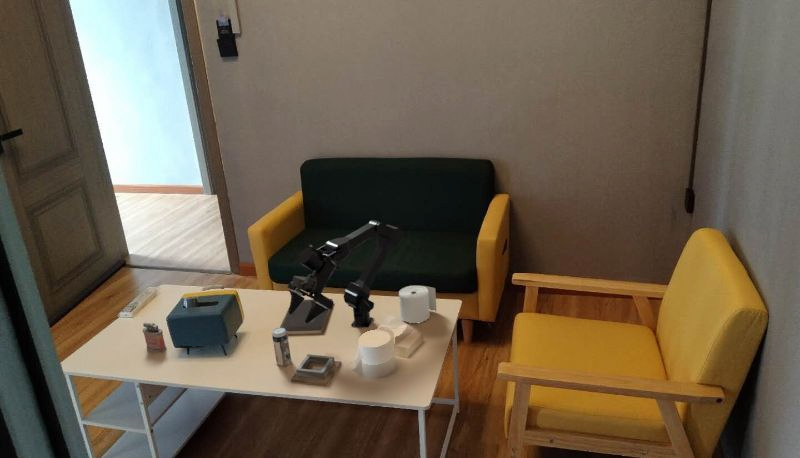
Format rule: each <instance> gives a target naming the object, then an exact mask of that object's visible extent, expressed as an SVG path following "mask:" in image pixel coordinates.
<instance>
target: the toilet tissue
mask: <svg viewBox="0 0 800 458" xmlns="http://www.w3.org/2000/svg"><path fill="white" fill-rule="evenodd" d="M436 293H437V292H436V288H435V287H431V286H426V285H409V286H405V287H402V288H401V289H400V290H399V291H398V298H399V299H398V300H399V310H400V311H399V313H400V319H401V318H402V319H403V320H405V321H406V322H409V323H408V324H411V323H417V322H422V321H425V320H426V321H428V320H429V319H430V317H431V315H430V314H431V312H430V311H433V310H435V311H434V312H437V296H436ZM429 309H430V310H429ZM429 316H430V317H429ZM428 318H429V319H428ZM402 319H401V320H402ZM427 319H428V320H427ZM426 321H425V322H426ZM406 322H405V323H406ZM422 323H423V322H422Z"/></svg>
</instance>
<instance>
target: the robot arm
mask: <svg viewBox="0 0 800 458" xmlns="http://www.w3.org/2000/svg"><path fill="white" fill-rule="evenodd" d="M376 235H377V237H376V247H375V249H374V250H373V252H372V253H371V256H370V258H369V260H368V261H367V263H366V264H365V266H364V268H363V270H362V271H361V274H360V276H359V277H358V278H357V280H356V281H355V282H351V281H349V283H348V285H347V287H346V289H345V290H344V291H343V292H344V294H343V301H344V303H345V304H347V305H348V307H350V308H352V312H353V322H351V324H350V325H351V326H350V327H357V328H369V327H370V326H371V324H372V322H373V321H374V317H372V316H371V314H370V312H371V310H373V309H374V306H375V302H373V301H371V300H370V299H369V298H370V296H371V286H372V284H373V282H374V280H375V279H376V277H377V276H378V273H379V271H380V269H381V267H382V265H383V264H384V263H385V261H386V259H387V257H388V255H389V253H390V252H391V251H393V250H395V249H396V248H398V246H399V244H401V242H402V240H403V238H404V233H403V230H402V229H401V228H399V227H395V226H393V225H390V224H383V222H381V221H377V220H372V219H371V220H370V221H369V222H368V223H366V224H365V225H363V226H361V227H359V228H358V229H355V230H354V231H352V232H351V233H349V234H347V235H345V236H343V237H337V238H334V239H331V240H328V241H326V242H325V244H324V245H322V246H320V247H319V248H316V247H315V246H314V245H311V244H309V245H308V247H305V248H304V249H302V250H301V251H300V252H299V254H298V256H297V260H298V263H299V264H301V265H302V266H304V267H305V268H307V269H308V270H310V271H311V272H312V271H313V272H312V274H311V273H309V274H307V276H302V275H301V276H299V275H294V276H293V278H292V281H290V282H289V284H288V285H287V289H288V292H289V294H290V303H289V307H290V308H289V307H288V309H289V314H292V313H293V312H294V311H295V310H296V309H297V307H298V306H299V305H300V304H301V303H302V301H303V300H306V299H305V297H308V298H310V299H311V300H313V299H314V301H316V303H315V302H313V301H311V304H312V307H311V309H310V311H309V313H308V315H307V317H306V320H305V323H309V322H310V321H311V320H313V319H314V318H315V317H317V316H318V315H320V314H321V313H323V312H324V311H328V309H330V310H332V309H333V307H334V306H335V304H334V302H335V301H334V300H330V299H331V298H328V297H327V296H325V295H324V294H322V293H323V291H324V290H325V287H329V285H330V283H328V282H329V281H330V278H331V276H332V275H333V273H334V271H335V270H337V271H341V267H340V263H339V262H341V261H343V260H345V259H346V258H347V257H348V256H350V254H351V253H352V250H354V249H355V248H356V247H358V246H360V245H361V244H363V243H365V242H366V241H368V240H370V239H371V238H373V237H375V236H376ZM327 308H328V309H327Z"/></svg>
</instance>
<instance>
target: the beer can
mask: <svg viewBox="0 0 800 458" xmlns="http://www.w3.org/2000/svg"><path fill="white" fill-rule="evenodd" d="M271 337H272V342H273V348H274V349H273V350H274V355H275V361H276V362H275V363H276V364H277V365H278V366H281V367H283V366H285V367H286V366H288V365H290V363H291V362H292V356H291V351H290V350H291V349H290V342H289V336H288V334H287V331H286V330H285V328H282V327H281V328H280V327H276V328H274V329H273V330H272V333H271Z"/></svg>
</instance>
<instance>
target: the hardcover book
mask: <svg viewBox="0 0 800 458" xmlns="http://www.w3.org/2000/svg"><path fill="white" fill-rule="evenodd" d="M329 299H330V300H332V301H334V300H333V298H329ZM311 301H313V302H315V303H316V301H314V299H304V300H303V301H302V303H301V304H300V305H299V306H298V307H297V309H296V310H295V311H294V312H293V313H292V314H289V308H290V306H289V307H288V310H287V311H286V313H285V316H284V318H283V319H282V323H281V324H280V327H279V328H281V327H282V328H285V330H286V331H287V335H305V334H306V335H307V334H308V335H309V334H322V333H323V330H324V328H325V325H326V323H327V322H326V321H327V319H328V315H329V312H330V311H331V309H328V308H327V309H328V311H324V312H323V313H321V314H320V315H318V316H317V317H315V318H314V319H313V320H311V321H310V322H309V323H305V320H306V317H307V315H308V313H309V311H310V309H311V307H312V304H311Z"/></svg>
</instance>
